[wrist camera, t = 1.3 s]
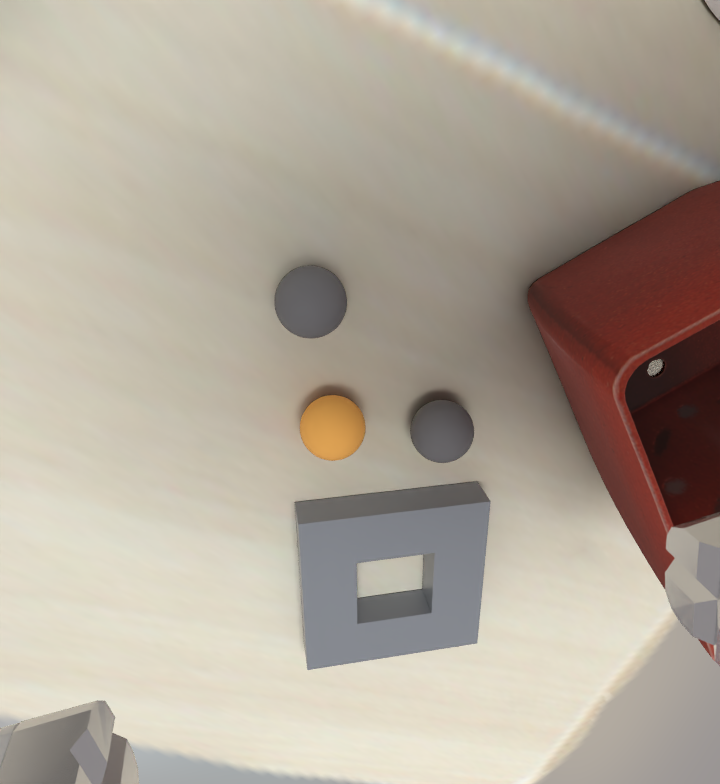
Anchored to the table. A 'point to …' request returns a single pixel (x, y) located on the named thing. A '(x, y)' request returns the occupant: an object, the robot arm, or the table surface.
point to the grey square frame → (385, 541)
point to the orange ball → (332, 427)
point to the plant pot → (645, 364)
